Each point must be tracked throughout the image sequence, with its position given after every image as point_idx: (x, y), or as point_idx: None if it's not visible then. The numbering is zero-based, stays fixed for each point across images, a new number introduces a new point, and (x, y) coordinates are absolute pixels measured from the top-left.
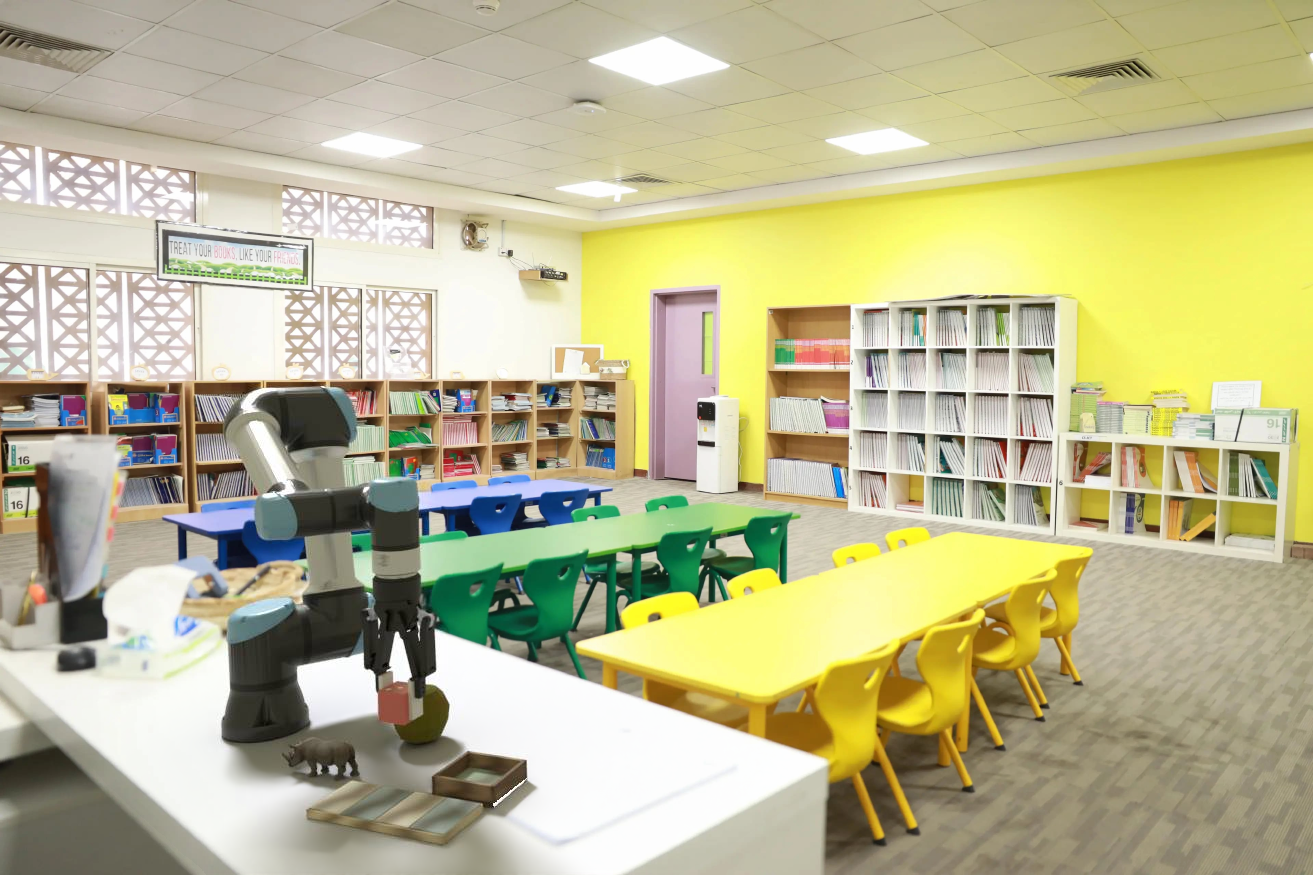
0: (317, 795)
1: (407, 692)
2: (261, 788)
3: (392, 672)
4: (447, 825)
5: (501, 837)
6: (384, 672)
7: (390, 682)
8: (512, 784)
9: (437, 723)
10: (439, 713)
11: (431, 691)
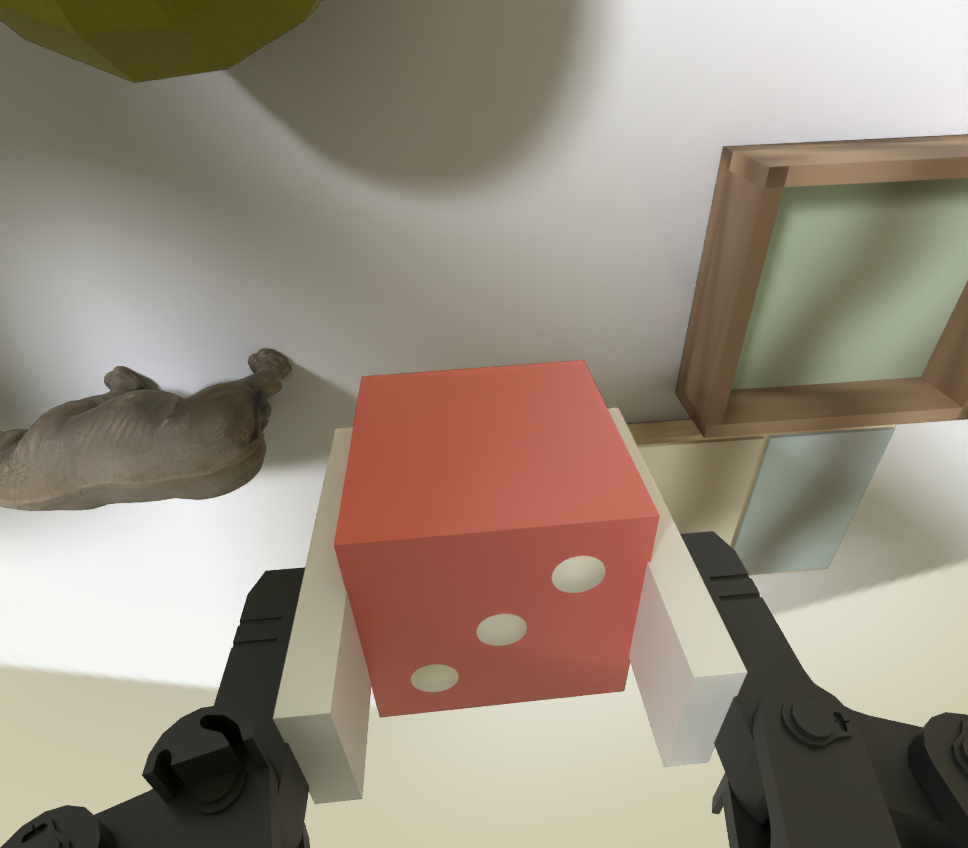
0: (302, 508)
1: (626, 658)
2: (92, 539)
3: (331, 701)
4: (824, 542)
5: (959, 485)
6: (298, 770)
7: (352, 634)
8: None
9: None
10: None
11: None
